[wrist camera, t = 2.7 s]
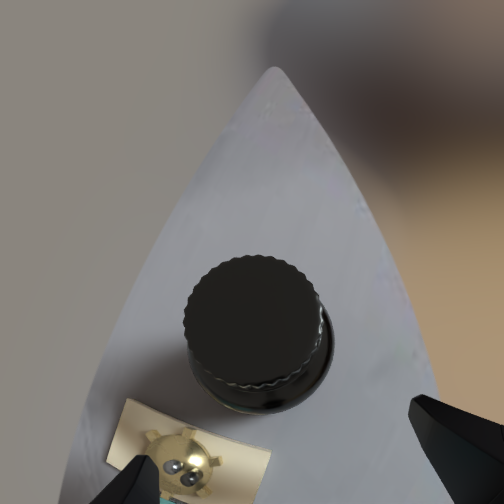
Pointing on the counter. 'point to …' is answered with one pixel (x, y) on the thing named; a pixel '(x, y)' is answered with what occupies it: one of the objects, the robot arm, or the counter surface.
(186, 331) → the supplement bottle
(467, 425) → the robot arm
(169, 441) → the brass gears
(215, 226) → the counter surface
